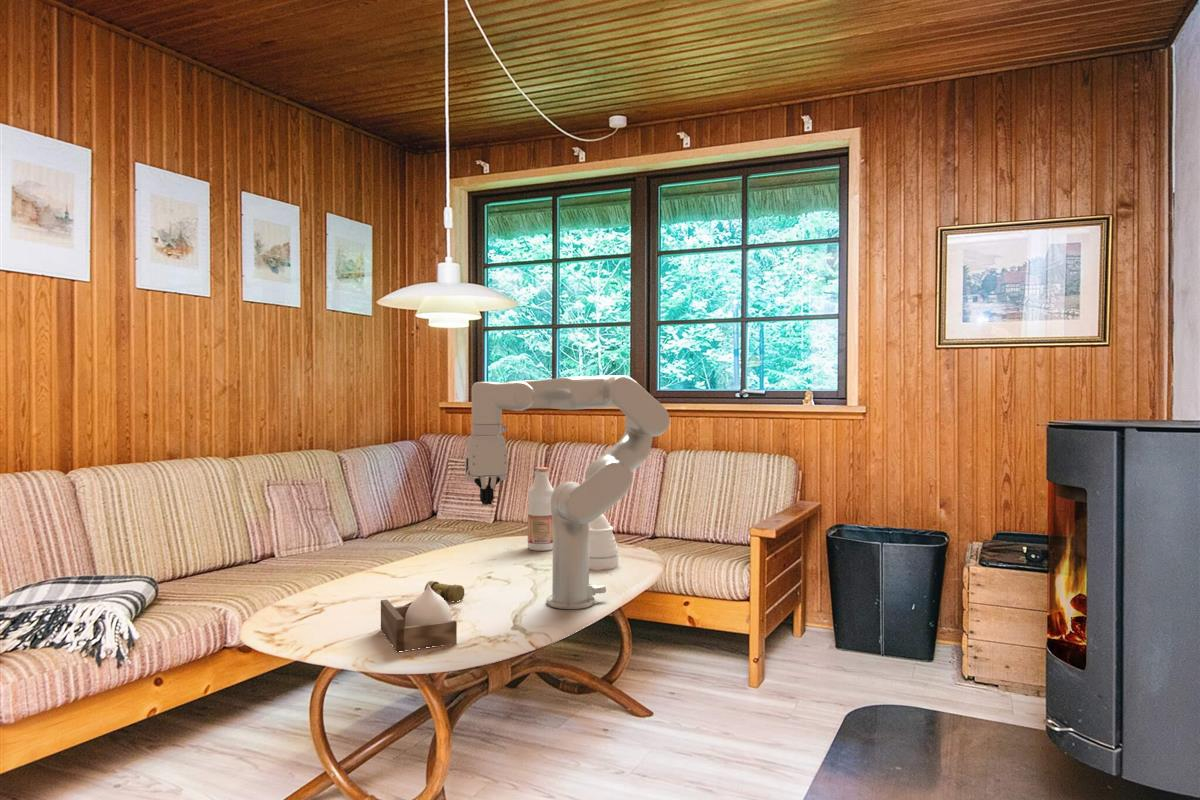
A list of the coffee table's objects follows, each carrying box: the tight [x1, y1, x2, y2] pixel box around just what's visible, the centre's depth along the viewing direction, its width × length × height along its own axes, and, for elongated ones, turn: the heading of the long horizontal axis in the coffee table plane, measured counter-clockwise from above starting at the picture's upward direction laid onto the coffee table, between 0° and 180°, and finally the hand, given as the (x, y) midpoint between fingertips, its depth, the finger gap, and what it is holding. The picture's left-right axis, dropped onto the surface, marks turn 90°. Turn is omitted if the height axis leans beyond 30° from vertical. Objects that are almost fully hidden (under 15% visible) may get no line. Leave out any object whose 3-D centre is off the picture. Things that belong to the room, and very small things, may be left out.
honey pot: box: [588, 513, 619, 570], centre depth 250 cm, size 13×13×18 cm
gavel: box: [403, 580, 465, 606], centre depth 203 cm, size 21×5×10 cm
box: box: [380, 599, 458, 653], centre depth 178 cm, size 13×17×7 cm
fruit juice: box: [527, 466, 555, 552], centre depth 274 cm, size 9×9×28 cm
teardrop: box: [405, 582, 453, 627], centre depth 180 cm, size 11×11×12 cm
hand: (486, 503), depth 199 cm, fingers closed
